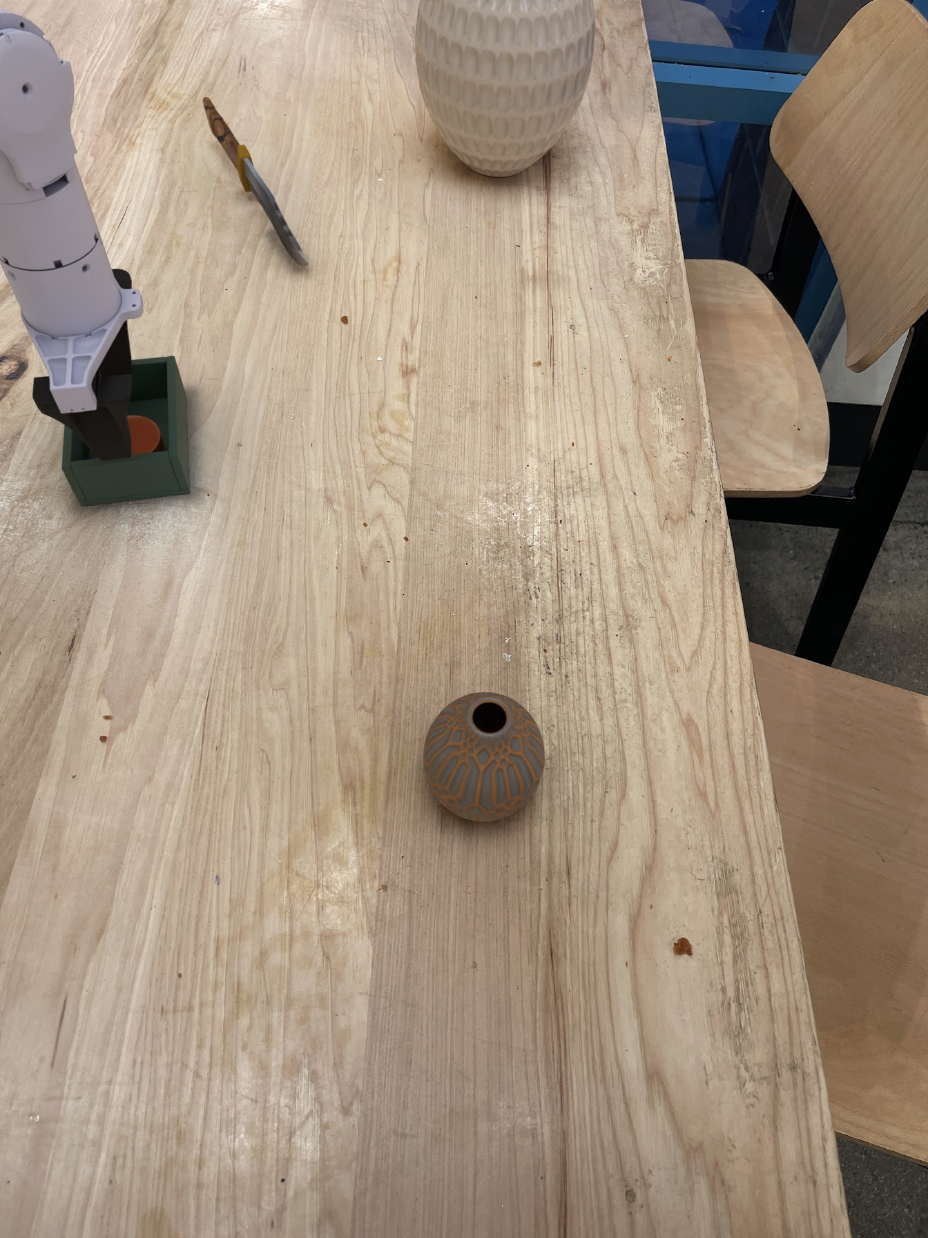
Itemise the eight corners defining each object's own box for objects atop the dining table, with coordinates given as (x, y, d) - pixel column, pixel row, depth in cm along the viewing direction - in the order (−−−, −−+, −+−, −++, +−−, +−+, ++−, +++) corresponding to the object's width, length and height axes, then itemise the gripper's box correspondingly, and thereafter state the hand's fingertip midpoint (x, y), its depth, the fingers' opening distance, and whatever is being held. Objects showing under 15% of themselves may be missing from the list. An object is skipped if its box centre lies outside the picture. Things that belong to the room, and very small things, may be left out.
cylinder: (103, 486, 64) (93, 465, 62) (104, 439, 66) (95, 418, 64) (168, 478, 64) (161, 457, 62) (167, 432, 67) (160, 411, 65)
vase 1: (415, 112, 93) (413, -158, 74) (567, 115, 94) (604, -151, 75) (416, 204, 84) (415, -76, 65) (585, 206, 85) (631, -69, 66)
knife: (319, 285, 77) (313, 234, 73) (304, 290, 77) (297, 238, 73) (220, 142, 88) (210, 90, 84) (207, 145, 88) (196, 93, 84)
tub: (80, 506, 63) (61, 468, 60) (84, 405, 68) (67, 365, 65) (190, 493, 64) (177, 455, 61) (186, 395, 70) (174, 355, 66)
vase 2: (407, 748, 54) (405, 680, 47) (511, 714, 56) (524, 643, 48) (446, 852, 51) (450, 797, 43) (555, 813, 52) (577, 753, 45)
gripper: (118, 316, 47) (178, 486, 58) (121, 161, 54) (173, 339, 66) (-23, 329, 46) (66, 499, 57) (0, 169, 53) (74, 348, 65)
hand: (116, 414), depth 61 cm, fingers open, 7 cm apart
